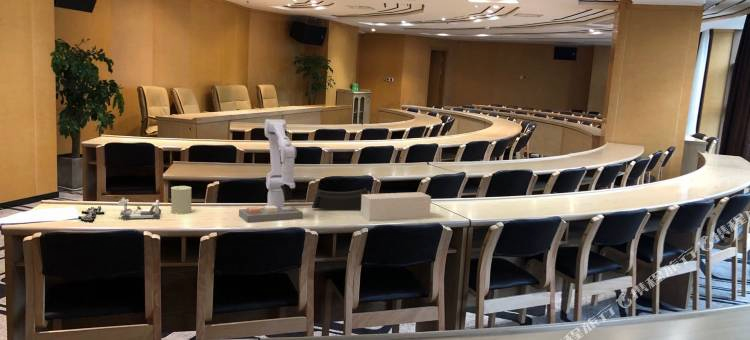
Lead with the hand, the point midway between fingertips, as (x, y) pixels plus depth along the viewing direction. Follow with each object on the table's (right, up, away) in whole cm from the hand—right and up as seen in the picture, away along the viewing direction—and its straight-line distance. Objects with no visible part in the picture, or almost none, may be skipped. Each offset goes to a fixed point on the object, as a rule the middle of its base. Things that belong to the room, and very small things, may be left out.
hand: (287, 200), depth 284 cm
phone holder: (-65, -7, -13) cm, 66 cm away
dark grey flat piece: (-85, -7, -14) cm, 87 cm away
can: (-50, -6, +1) cm, 50 cm away
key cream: (-7, -6, -3) cm, 10 cm away
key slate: (0, -7, +1) cm, 7 cm away
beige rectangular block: (+51, -9, +9) cm, 53 cm away
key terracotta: (-14, -6, -7) cm, 17 cm away
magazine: (+25, -6, +19) cm, 32 cm away
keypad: (-7, -8, -3) cm, 11 cm away
